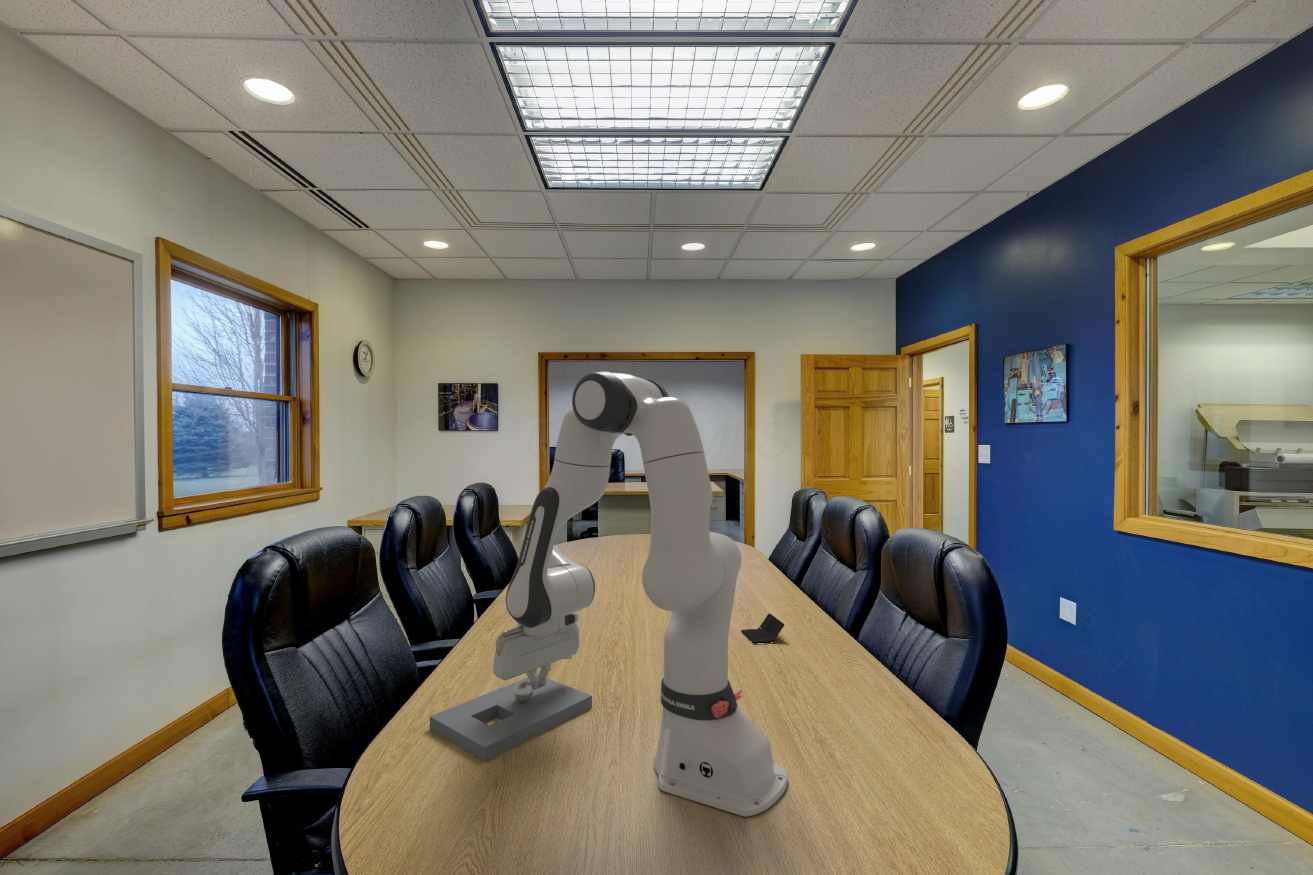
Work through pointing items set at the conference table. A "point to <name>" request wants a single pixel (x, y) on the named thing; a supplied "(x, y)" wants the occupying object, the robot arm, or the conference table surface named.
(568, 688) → the board
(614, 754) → the conference table surface
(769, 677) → the conference table surface
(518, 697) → the steel ball
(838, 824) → the conference table surface
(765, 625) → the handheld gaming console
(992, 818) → the conference table surface
